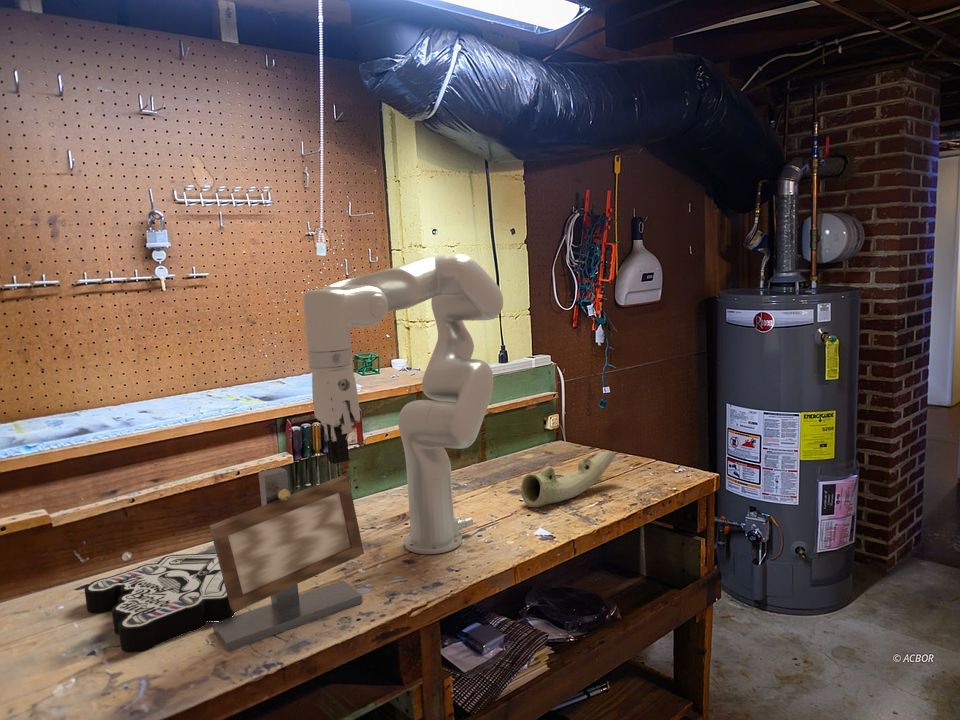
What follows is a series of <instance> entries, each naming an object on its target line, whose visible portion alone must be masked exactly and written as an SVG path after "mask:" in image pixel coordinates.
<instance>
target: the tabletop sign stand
mask: <svg viewBox="0 0 960 720" xmlns="http://www.w3.org/2000/svg"><path fill="white" fill-rule="evenodd" d="M258 481H259V490H260V491H259V492H260V503H261V506H263V505H266V504H268V503H271V502H274V501H276V500H279V499H280V500H281V501H286V500H288V499H289V498H290V495H291V492H290V489H289V487H290V486H289V477H288V470H286V469H285V468H283V467H277V468H271V469H267V470H263V471H258ZM298 584H299V583H298ZM298 584H296V585H294V586H292V587H290V588H287V589H285V590H283V591H281V592H279V593H276V594H274V595H272V596H270V600H271V601H270V602H271V603H270V604H267V605H265V606H261V607H258V608H254V609H252V610H248V611H247V612H243V613H240V614H238V615H234V616H233V617H231V618H228V619H225V620H222V621H219V622H212V628H213V629H212V630H213V633H214V634H215V636H216V637H217V639H218V640H219V641H220V643H221V644H223V645H222V646H223V648H224V649H225V650H226V652H230V650H231V651H234V650H236V649H239V648H241V647H245V646H248V645H249V644H252V643H255V642H258V641H260V640H264V639H266V638H269V637H272V636H274V635H275V636H276V635H278V634H280V633H283V632H286V631H288V629H289V630H292V629H294V628H297V627H300V626H302V625H305V624H308V623H310V622H313V621H316V620H319V619H321V618H322V619H323V618H325V617H328V616H330V615H333V614H336V613H338V612H341V611H344V610H347V609H349V608H352V607H355V606H358V605H361V604H363V595H362V594H361V593H360V592H359V591H358V590H356V589H355V587H352V586H351V585H350V584H349V583H348V582H346V581H345V580H344V579H342V580H339V581H337V582H336V581H335V582H333V583H330V584H327V585H324V586H322V587H319V588H315V589H312V590H309V591H306V592H303V593H300V594H299V585H298Z"/></svg>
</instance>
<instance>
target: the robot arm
mask: <svg viewBox="0 0 960 720" xmlns="http://www.w3.org/2000/svg"><path fill="white" fill-rule="evenodd" d="M430 299H431V303H430V305H431V310H432V313H433V316H434V320H435V324H436V329H437V340H436V344H435V346H434V349H433V351H432V354H431V357H430V359H429V361H428V364H427V365H426V369H425V371H424V373H423V377H422V379H421V380H422V381H421V391H422V392H423V394H424V395H425V397H427V398H429V399H431V400H429V399H418V400H413V401H410V402H408V403H406V404H405V405H404V406H403V407H402V408H401V410H400V413H399V415H398V418H397V419H398V423H397V424H398V431H399V434H400V438H401V442H402V446H403V450H404V451H403V452H404V457H405V465H406V466H405V467H406V468H405V469H406V479H407V480H406V482H407V497H408V511H409V513H408V514H409V524H410V525H409V526H410V527H409V528H410V533H409V534H407V535H406V536H405V537H404V541H403V542H404V544H403V545H404V547H405V549H406V550H408V551H410V552H411V553H414V554H418V555H419V554H420V555H436V554H437V555H438V554H443V553H447V552H450V551H452V550H455V549H457V548H458V547H459V546H460V545H461V544H462V543H463V534H462V532H460V531H462V529H463V528H467V527H470V526H473V524H474V519H473V518H472V517H471V516H467V517H465V518H464V517H463V519H462V517H461V516H456V517H455V513H454V501H453V500H454V499H453V483H452V481H453V480H452V465H451V464H452V463H451V460H450V458H449V455H448V453H447V451H446V449H447V448H448V449H459V450H460V449H467V448H469V447H470V446H471V445H473V444H474V442H475V441H476V440H477V437H478V435H479V433H480V429H481V428H482V427H481V426H482V425H483V421H484V418H485V416H486V412H487V411H488V407H489V404H490V401H491V397H492V395H493V390H494V384H495V383H494V373H493V370H492V368H491V366H490V365H489V363H487V362H485V361H483V360H482V359H475V358H472V357H473V355H474V348H475V344H474V341H473V338H472V336H471V335H472V334H470V332H469V330H468V329H467V327H466V325H465V323H464V321H491V320H494V319H496V318H497V317H499V315H500V314H501V313H502V310H503V306H504V298H503V293H502V291H501V288H500V287H499V285H498V284H497V283H496V281H495V280H494V279H493V278H492V277H491V276H490V275H489V273H488V272H487V271H486V270H485V269H484V268H483V267H482V266H481V265H480V264H479V263H478V262H477V261H476V260H474V259H473V258H472V257H470V256H468V255H466V254H463V253H462V254H461V253H457V254H456V253H455V254H446V255H445V254H442V255H429V256H424V257H421V258H418V259H416V260H414V261H410V262H407V263H405V264H402V265H398V266H396V267H392V268H387V269H383V270H379V271H376V272H372V273H368V274H364V275H359V276H355V277H351V278H346V279H344V280H340V281H337V282H335V283H334V282H333V283H331V284H329V285H326V286H324V287H322V288H321V289H311V290H308V291H306V292H305V294H304V295H303V298H302V300H303V301H302V302H303V303H302V304H303V313H304V326H305V336H306V337H305V339H306V346H307V347H306V350H307V358H308V360H307V361H308V370H309V371H311V387H312V390H311V391H312V405H313V407H312V408H313V413H314V418H316V419H317V420H318V421H320V425H322V426H323V428H324V433H325V439H326V445H327V458H328V462H329V463H331V464H333V465H336V464H339V463H344V462H345V463H346V462H348V461H349V459H350V458H349V457H350V456H349V443H348V441H349V434H350V433H353V427H352V423H353V424H358V423H360V421H361V412H360V401H359V394H358V389H357V382H356V377H355V372H354V370H353V367H354V363H353V352H352V351H353V350H352V349H353V348H352V339H351V338H352V337H351V327H352V328H353V327H354V328H365V327H366V328H367V327H368V328H369V327H373V326H376V325H377V324H380V322H382V321H383V320H384V319H385V318H386V315H387V314H388V312H395V311H402V310H406V309H410V308H412V307H414V306H417V305H419V304H421V303H423V302H426V301H428V300H430ZM445 448H446V449H445Z"/></svg>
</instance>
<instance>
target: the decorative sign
mask: <svg viewBox="0 0 960 720" xmlns="http://www.w3.org/2000/svg"><path fill="white" fill-rule="evenodd" d="M84 598H85V604H86V611H87V612H88V613H89V614H106V613H109V612H111V613H112V621H113V630H114V634H116V635H119V641H120V643H119V644H120V649H121V651H122V652H124V653H128V654H131V653H132V654H133V653H143V652H146V651H148V650H151V649H152V648H154V647H156V646H158V645H160V644H163V643H165V642H167V640H168V641H170V640H172V638H173V639H175V638H177V636H178V637H180V636H182V635H181V634H183V635H185V634H187V632H188V633H190V632H189V631H192V632H195V631H197V629H198V630H200V629H202V628H203V627H202V626H204V625H205V626H206V625H207V624H206V622H207V621H208V623H212V622H211V621H222V620H225V619H228V618H231V617H232V616H233V615H234V612H233V610H232V609H231V608H230V604H229V600H228V596H227V592H226V588H225V584H224V580H223V577H222V573H221V569H220V565H219V561H218V557H217V553H216V552H210V553H185V554H169V555H165V556H164V557H162V558H161V559H160V560H159V561H157V562H154V563H146V564H143V565H139V566H138V567H136V568H133V569H129V570H126V571H123V572H120V573H117V574H114V575H112V576H108V577H104V578H103V577H102V578H100V579H95V580H93V581H92V582H90V583H89V584H87V585H86V586H85V587H84ZM234 616H235V615H234ZM234 616H233V617H234ZM209 621H210V622H209ZM205 626H204V627H205ZM201 627H202V628H201ZM199 628H200V629H199ZM194 630H195V631H194ZM184 633H185V634H184ZM179 635H180V636H179ZM169 639H170V640H169ZM162 642H163V643H162Z"/></svg>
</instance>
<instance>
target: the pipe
mask: <svg viewBox="0 0 960 720" xmlns="http://www.w3.org/2000/svg"><path fill="white" fill-rule="evenodd" d="M615 457H616V453H615V452H614V451H610V450H605V451H600V452H598V453H597V454H596V455H594V456H593V458H591V459H590V458H589V457H583V458H582V459H581V460H580V461H579V462H578V463H577V465H578V467H577V469H576V470H575V471H573V472H570V473H568V474H567V475H566V474H565V475H564V476H561V477H556V473H555V470H554V468H553V467H552V466H551V465H547V466H546V467H544V468H542V469H541V471H540V472H538V473H532V474H527V475H525V476H524V477H523V479H522V482H521V487H520V493H521V497H522V500H523V502H524V503H525V504H526V506H528V507H531V508H537V507H538V508H540V507H543V506H546V505H549V504H555V503H560V502H563V501H566V500H569V499H572V498H575V497H577V496H579V495H580V494H582V493H584V492H585V491H586V490H588V489H589V488H590V487H592V486H593V485H594V484H595V483H596V482H597V481H599V479H600V478H601V477H602V476H603V475H604V473H605V472H606V471H607V469H608V468H609V466H610V465H611V463H612V462H613V461H614V459H615Z"/></svg>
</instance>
